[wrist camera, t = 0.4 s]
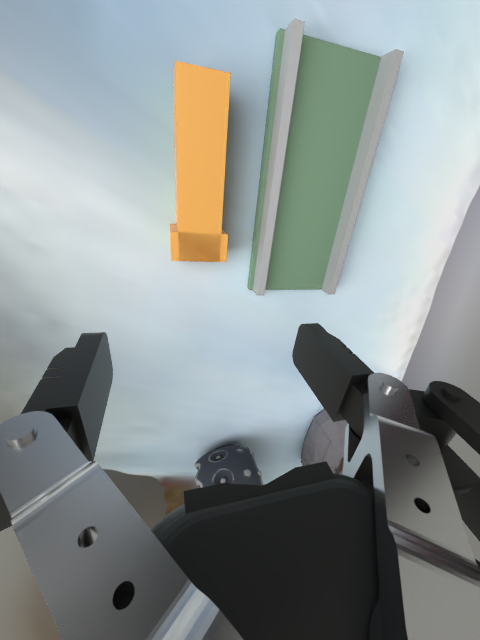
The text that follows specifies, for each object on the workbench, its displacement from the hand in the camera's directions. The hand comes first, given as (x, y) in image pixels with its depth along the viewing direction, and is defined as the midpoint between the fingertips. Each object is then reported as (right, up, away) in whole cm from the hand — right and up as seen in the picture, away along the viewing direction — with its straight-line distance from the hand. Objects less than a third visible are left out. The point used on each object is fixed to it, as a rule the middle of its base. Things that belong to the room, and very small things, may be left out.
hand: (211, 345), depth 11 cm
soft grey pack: (+21, -25, +49) cm, 59 cm away
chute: (-4, +17, +18) cm, 25 cm away
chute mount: (+10, +17, +22) cm, 29 cm away
